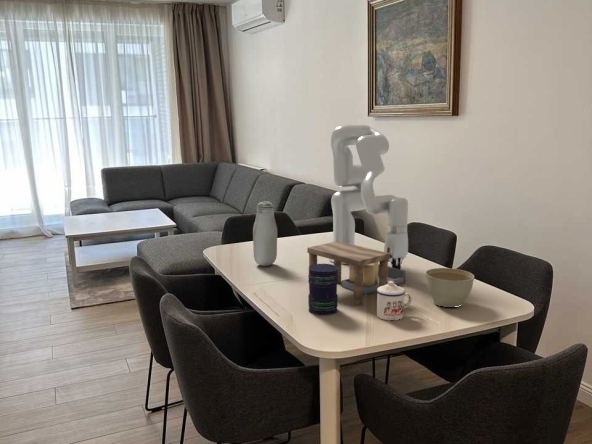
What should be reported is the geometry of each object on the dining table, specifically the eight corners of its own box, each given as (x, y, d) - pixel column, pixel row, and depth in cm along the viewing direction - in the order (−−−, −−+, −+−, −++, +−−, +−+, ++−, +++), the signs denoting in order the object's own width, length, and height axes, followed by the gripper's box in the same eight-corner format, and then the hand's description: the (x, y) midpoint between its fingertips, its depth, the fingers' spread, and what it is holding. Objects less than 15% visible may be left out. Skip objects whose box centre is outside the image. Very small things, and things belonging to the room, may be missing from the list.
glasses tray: (379, 276, 230) (380, 252, 228) (405, 283, 221) (406, 258, 219) (341, 286, 216) (342, 261, 214) (367, 294, 206) (368, 268, 204)
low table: (337, 280, 224) (337, 241, 221) (388, 296, 205) (389, 253, 202) (307, 288, 214) (307, 247, 210) (358, 306, 194) (359, 261, 191)
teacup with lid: (383, 322, 179) (384, 287, 177) (371, 313, 188) (372, 279, 186) (417, 318, 183) (418, 283, 180) (404, 309, 191) (405, 276, 189)
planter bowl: (464, 315, 185) (466, 283, 183) (417, 306, 194) (418, 276, 192) (477, 301, 199) (479, 271, 197) (433, 294, 207) (434, 265, 205)
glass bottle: (263, 269, 240) (263, 204, 234) (249, 264, 247) (248, 201, 242) (281, 265, 246) (281, 201, 241) (267, 261, 254) (266, 199, 248)
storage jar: (315, 317, 184) (316, 272, 181) (303, 308, 193) (303, 265, 190) (342, 313, 188) (343, 269, 185) (329, 304, 197) (329, 262, 194)
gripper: (401, 225, 231) (400, 269, 234) (377, 230, 221) (376, 275, 224) (416, 228, 225) (415, 272, 229) (392, 233, 215) (391, 279, 219)
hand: (396, 274), depth 227 cm, fingers closed
